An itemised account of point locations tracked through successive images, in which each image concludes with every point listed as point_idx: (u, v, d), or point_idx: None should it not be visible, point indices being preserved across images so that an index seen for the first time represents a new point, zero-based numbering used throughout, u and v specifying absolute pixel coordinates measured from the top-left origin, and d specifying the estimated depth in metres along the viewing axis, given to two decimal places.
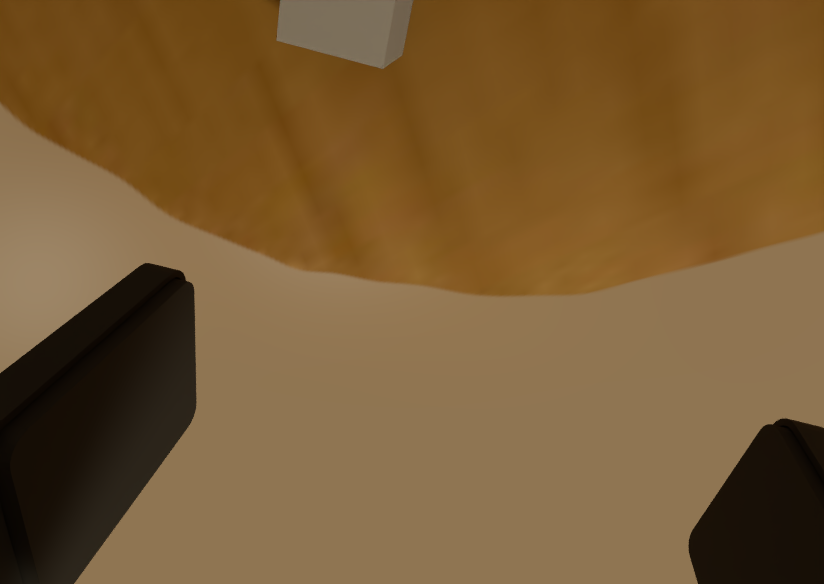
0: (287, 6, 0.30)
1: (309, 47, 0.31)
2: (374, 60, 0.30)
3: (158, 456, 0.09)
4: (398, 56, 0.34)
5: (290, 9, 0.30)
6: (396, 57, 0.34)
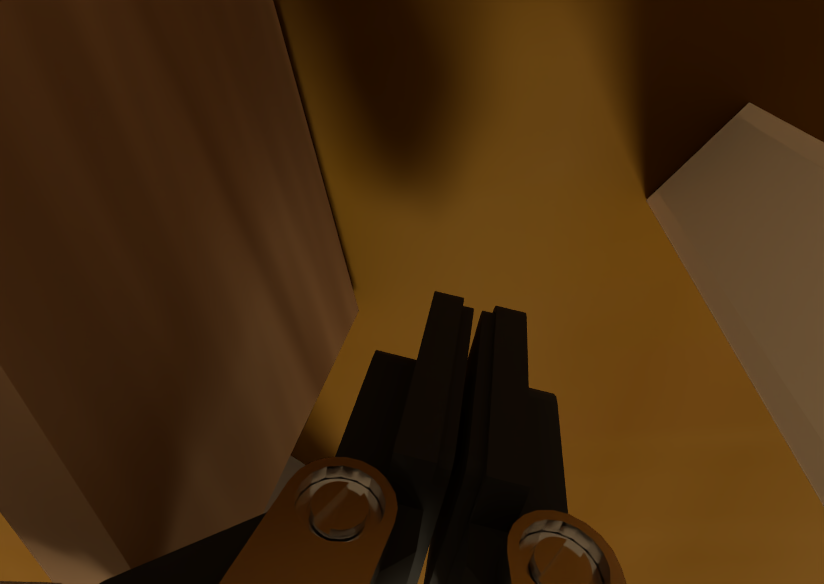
0: None
1: None
2: None
3: None
4: None
5: None
6: None
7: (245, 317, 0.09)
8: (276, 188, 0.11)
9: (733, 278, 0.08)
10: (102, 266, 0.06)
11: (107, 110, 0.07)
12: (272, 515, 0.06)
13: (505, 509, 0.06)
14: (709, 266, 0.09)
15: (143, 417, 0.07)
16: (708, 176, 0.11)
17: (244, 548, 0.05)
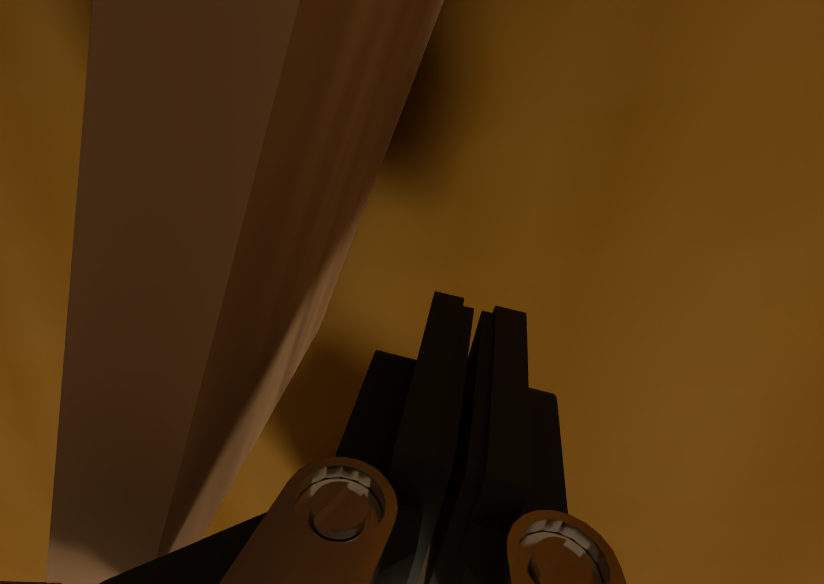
0: None
1: None
2: None
3: None
4: None
5: None
6: None
7: (279, 358, 0.09)
8: (344, 233, 0.11)
9: None
10: (254, 344, 0.06)
11: (320, 200, 0.07)
12: (272, 515, 0.06)
13: (505, 509, 0.06)
14: None
15: (207, 468, 0.07)
16: None
17: (244, 548, 0.05)
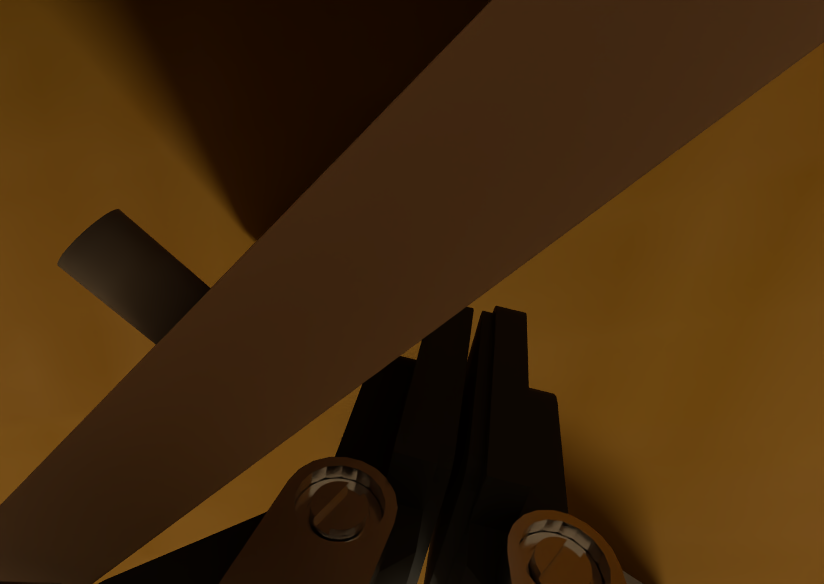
0: None
1: None
2: None
3: None
4: None
5: None
6: None
7: None
8: None
9: None
10: None
11: None
12: (272, 515, 0.06)
13: (505, 509, 0.06)
14: None
15: None
16: None
17: (244, 548, 0.05)
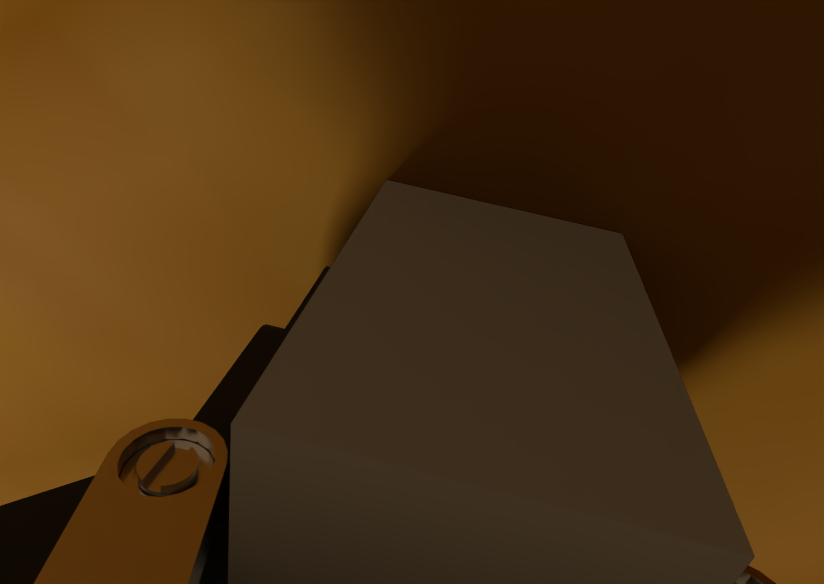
0: (448, 517, 0.04)
1: (237, 572, 0.05)
2: None
3: None
4: None
5: (430, 528, 0.05)
6: None
7: None
8: None
9: None
10: None
11: None
12: (94, 489, 0.06)
13: None
14: None
15: None
16: None
17: (67, 525, 0.05)
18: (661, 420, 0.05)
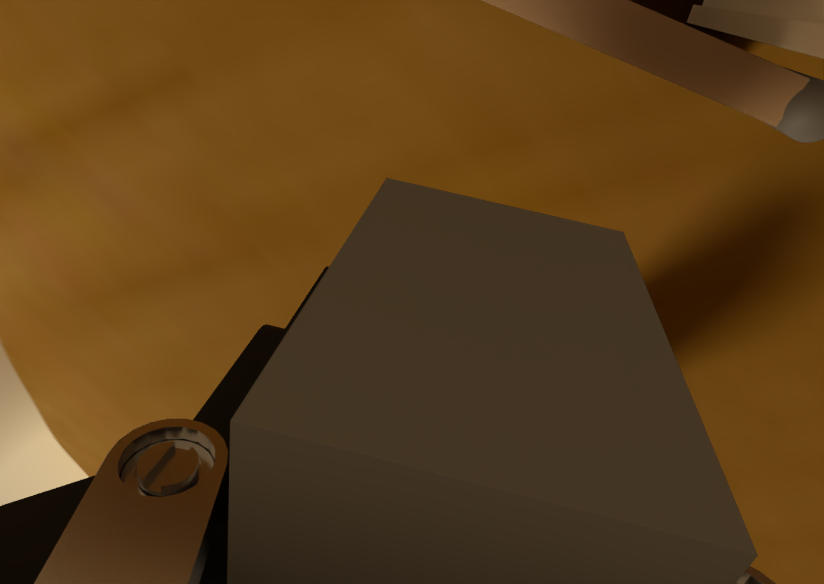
0: (448, 516, 0.04)
1: (236, 570, 0.05)
2: None
3: None
4: None
5: (431, 526, 0.05)
6: None
7: None
8: None
9: None
10: None
11: None
12: (94, 489, 0.05)
13: None
14: None
15: None
16: None
17: (67, 526, 0.05)
18: (663, 418, 0.05)
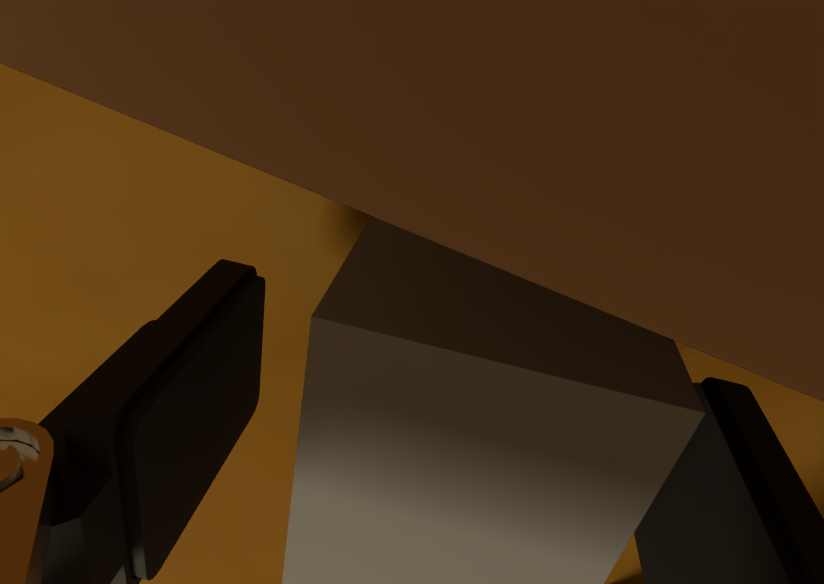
0: (475, 391, 0.06)
1: (304, 448, 0.07)
2: None
3: (230, 442, 0.10)
4: None
5: (461, 401, 0.06)
6: None
7: None
8: None
9: None
10: None
11: None
12: None
13: None
14: None
15: None
16: None
17: None
18: (640, 330, 0.07)
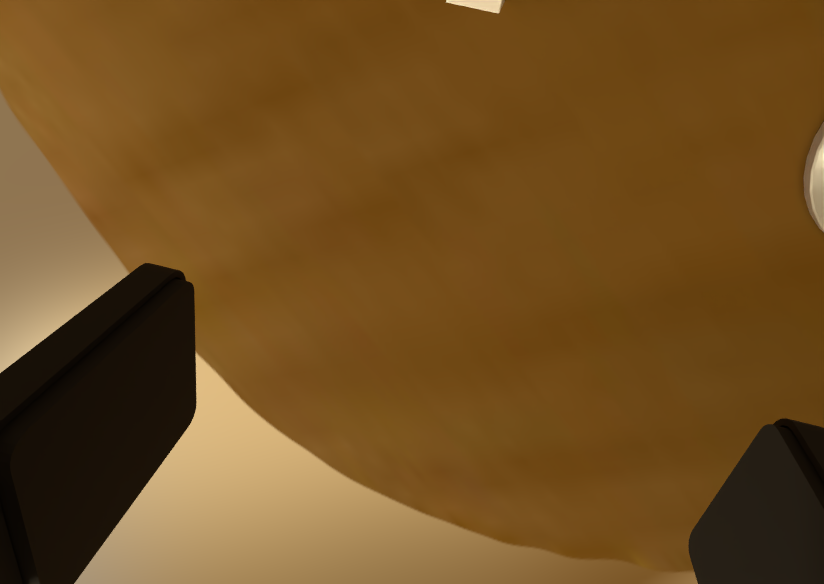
0: None
1: None
2: None
3: (158, 456, 0.09)
4: None
5: None
6: None
7: None
8: None
9: None
10: None
11: None
12: None
13: None
14: None
15: None
16: None
17: None
18: None
